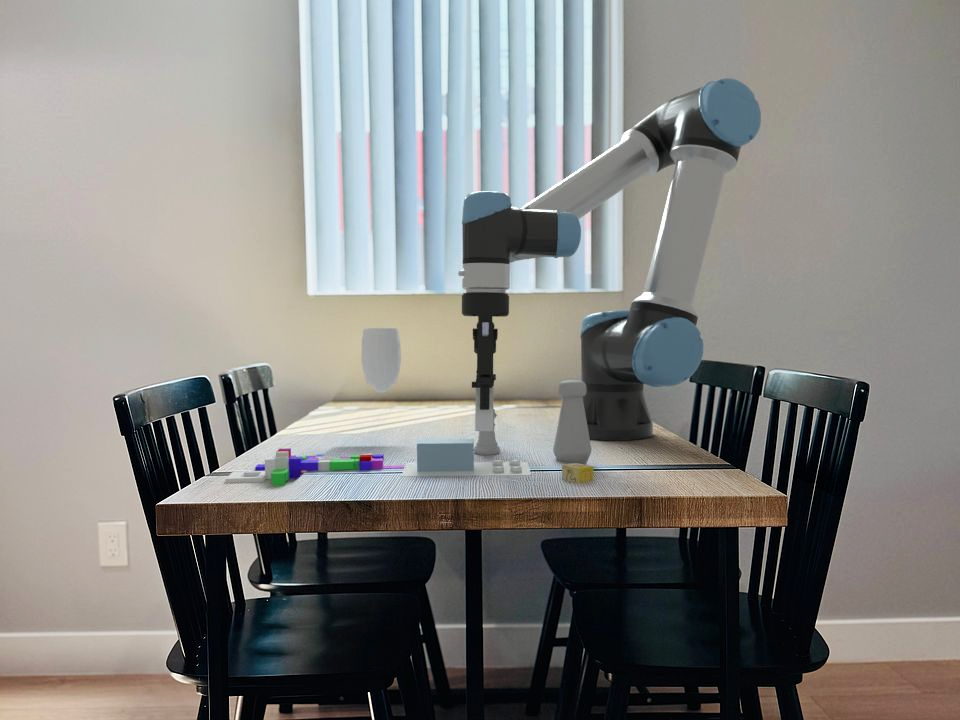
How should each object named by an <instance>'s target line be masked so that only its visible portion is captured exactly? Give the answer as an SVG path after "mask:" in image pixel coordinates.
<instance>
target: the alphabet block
mask: <svg viewBox="0 0 960 720" xmlns="http://www.w3.org/2000/svg"><path fill="white" fill-rule="evenodd" d="M561 480H562V481H565V482H572V483H578V484H580V483H585V482H590V481H593V480H594V466H592V465H587V464H586V465H583V464H582V463H579V462H572V463H567V464H566V463H565V464H562V465H561Z"/></svg>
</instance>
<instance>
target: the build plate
mask: <svg viewBox="0 0 960 720" xmlns="http://www.w3.org/2000/svg"><path fill="white" fill-rule="evenodd" d="M487 476H488V477H490V476H491V477H495V476H498V477H501V476H502V477H504V476H506V477H507V476H508V477H510V476H516V477H517V476H522V477H523V476H532V473H531V469H530V466H529V463H528V461H521V460H519V459H511V460H509V461H504V460H501V459H494V460H491V461H474V471H436V472H417V461H416V462H412V461H411V462H407V463H406V466H404V468H403V471H402V472H401V476H400V477H487Z"/></svg>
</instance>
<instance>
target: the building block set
mask: <svg viewBox="0 0 960 720" xmlns="http://www.w3.org/2000/svg"><path fill="white" fill-rule="evenodd" d="M324 455H325V454H316V455H302V456H301V455H299V456H296V455H292V449H291V448H288V447H287V448H279V449H277V451H276V452H275V456H272V457H266V458H265V459H264V463H263V464H261V463H258V464H257V465H256V466H255V470H249V471H248V470H246V471H243V470H241V471H240V470H239V471H232V472H231V473H230V474H228V476H227V477H226V478H225V483H226V484H227V483H232V484H235V483H264V482H265V481H266V480H270V481H271V483H272V484H271V486H272V487H277V486H279V487H280V486H286V484H287V482H288V481H289V480H290V479H299V478H301V477H302V476H303V475H304V474H305V473H306V472H307V471H311V472H317V471H318V472H319V471H320V472H321V471H323V472H325V471H338V470H340V471H341V470H345V471H346V470H348V471H355V470H357V471H360V472H361V471H363V472H364V471H366V472H367V471H372V470H390V469H393V470H394V469H395V470H396V469H398V470H399V469H405V465H401V464H400V465H384V460H385V459H384V458H385V456H384V455H385V454H384V453H380V454H379V453H378V454H377V453H376V454H373V453H362V454H350V456H340V458H331V459H330V458H329V459H328V458H326V459H322V457H324Z"/></svg>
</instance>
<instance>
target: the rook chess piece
mask: <svg viewBox="0 0 960 720" xmlns="http://www.w3.org/2000/svg"><path fill="white" fill-rule="evenodd" d="M497 416H498V414H497V413H496V412H495V408H493V431H478V436H477V437H478V439H477V443H475V444H476V445H475V446H474V454H476V455H483V456H491V455H492V456H493V455H498V454H499V453H500V452H501V447H500V446H498V442H497V439H496V434H495V433H496V432H495V426H496V424H495V419H496V418H497Z"/></svg>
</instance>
